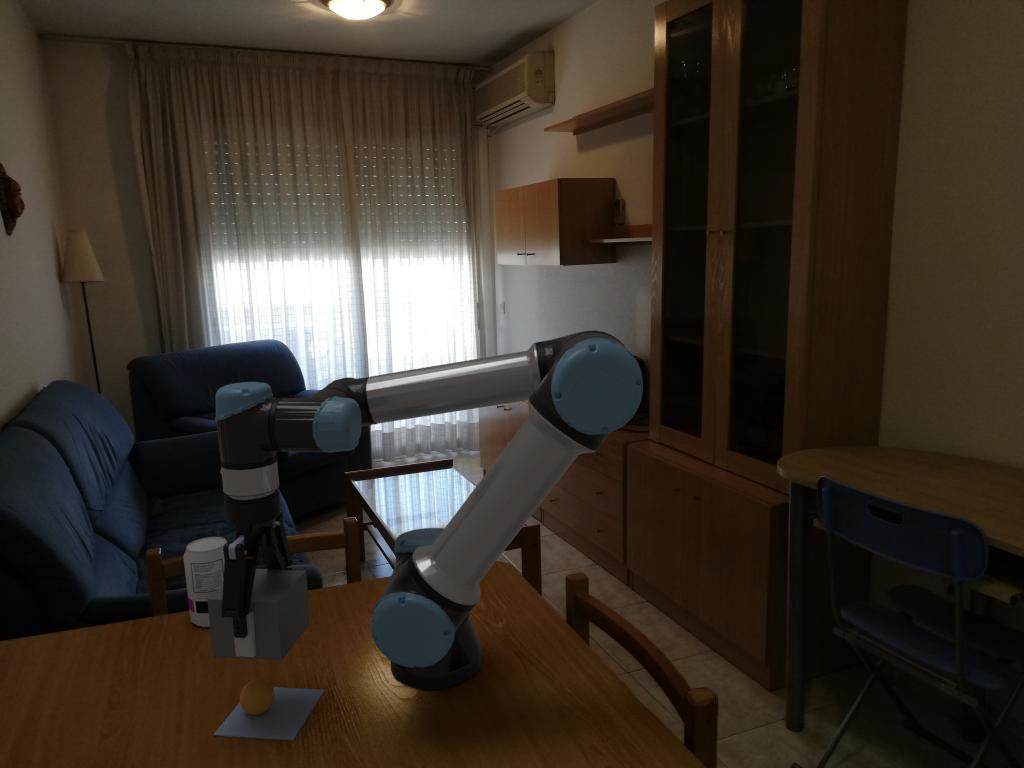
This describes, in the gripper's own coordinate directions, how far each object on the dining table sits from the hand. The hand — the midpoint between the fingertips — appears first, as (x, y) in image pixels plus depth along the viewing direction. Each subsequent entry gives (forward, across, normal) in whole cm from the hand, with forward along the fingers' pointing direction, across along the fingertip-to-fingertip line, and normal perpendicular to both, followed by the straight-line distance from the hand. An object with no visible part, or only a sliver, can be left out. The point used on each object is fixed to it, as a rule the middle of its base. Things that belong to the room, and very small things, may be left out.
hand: (263, 635), depth 108 cm
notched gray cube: (+1, 0, 0) cm, 1 cm away
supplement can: (+13, -27, -24) cm, 38 cm away
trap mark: (+13, 0, 0) cm, 13 cm away
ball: (+10, 0, -2) cm, 10 cm away
